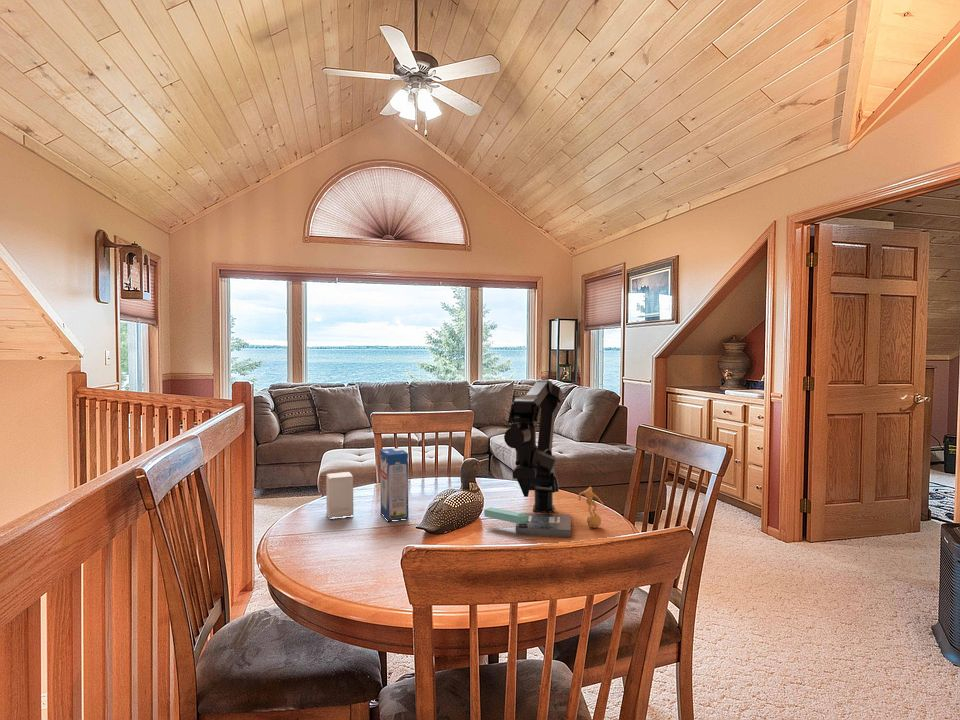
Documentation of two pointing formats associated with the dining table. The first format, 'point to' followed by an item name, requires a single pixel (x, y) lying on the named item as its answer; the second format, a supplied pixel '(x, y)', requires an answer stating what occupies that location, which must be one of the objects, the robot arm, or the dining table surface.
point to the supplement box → (339, 494)
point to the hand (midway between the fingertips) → (526, 496)
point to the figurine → (593, 518)
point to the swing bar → (506, 515)
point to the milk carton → (394, 483)
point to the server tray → (545, 525)
